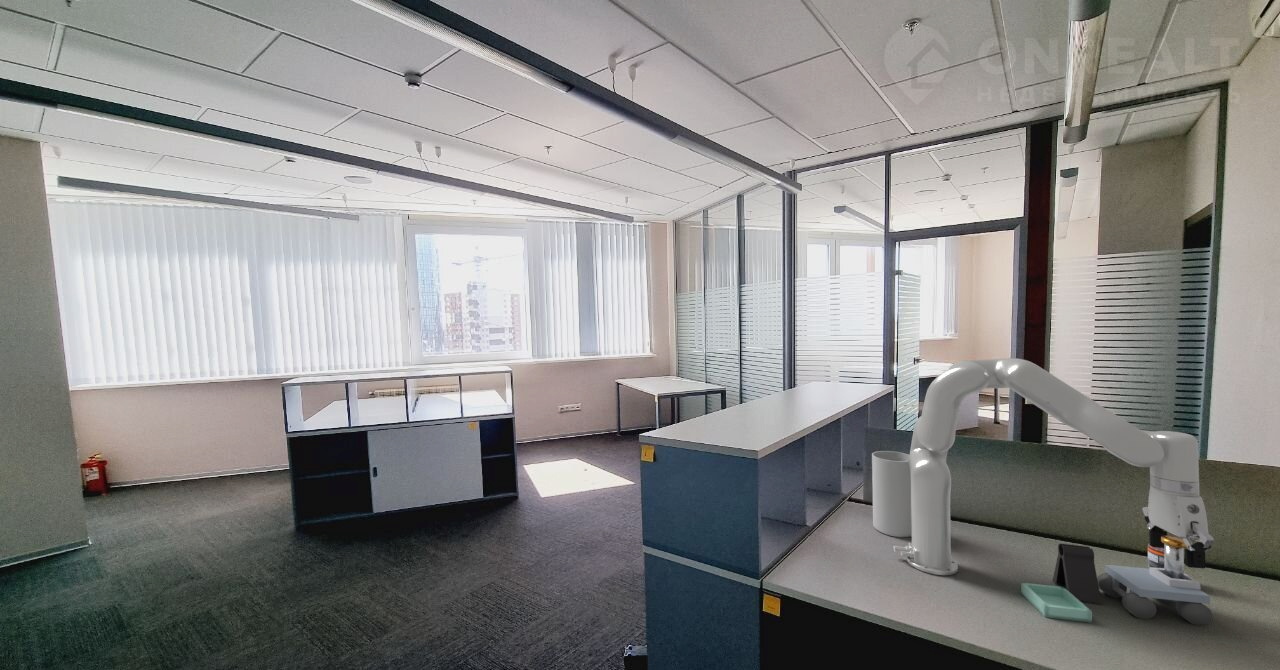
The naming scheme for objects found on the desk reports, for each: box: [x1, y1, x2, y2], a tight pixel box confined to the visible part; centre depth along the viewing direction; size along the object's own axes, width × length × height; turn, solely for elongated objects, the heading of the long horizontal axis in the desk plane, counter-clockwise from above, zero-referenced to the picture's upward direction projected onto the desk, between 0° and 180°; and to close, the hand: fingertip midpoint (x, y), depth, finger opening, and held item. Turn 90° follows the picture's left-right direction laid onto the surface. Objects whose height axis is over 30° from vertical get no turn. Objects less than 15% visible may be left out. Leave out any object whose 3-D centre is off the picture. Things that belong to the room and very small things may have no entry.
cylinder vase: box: [871, 450, 912, 538], centre depth 152 cm, size 12×12×25 cm
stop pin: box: [1161, 535, 1187, 579], centre depth 107 cm, size 4×4×10 cm
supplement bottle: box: [1147, 543, 1164, 569], centre depth 119 cm, size 6×6×11 cm
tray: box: [1020, 582, 1093, 623], centre depth 109 cm, size 9×10×3 cm
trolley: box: [1097, 564, 1213, 626], centre depth 108 cm, size 11×15×9 cm
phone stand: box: [1052, 543, 1103, 605], centre depth 115 cm, size 9×6×12 cm, turn 159°
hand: (1176, 556), depth 107 cm, fingers open, 9 cm apart
